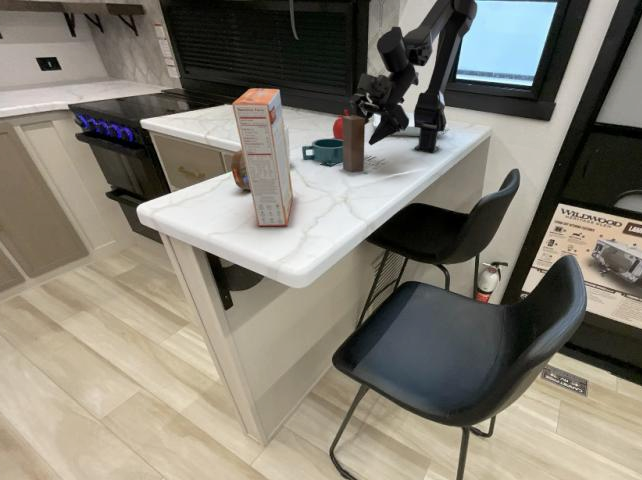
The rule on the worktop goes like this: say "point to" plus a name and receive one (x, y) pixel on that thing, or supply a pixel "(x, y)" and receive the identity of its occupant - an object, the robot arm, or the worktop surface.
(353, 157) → the block
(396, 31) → the robot arm
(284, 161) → the cracker box
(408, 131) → the square plate
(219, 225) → the worktop surface
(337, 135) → the pomegranate
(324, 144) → the teal mug
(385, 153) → the worktop surface
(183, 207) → the worktop surface
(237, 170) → the tin
